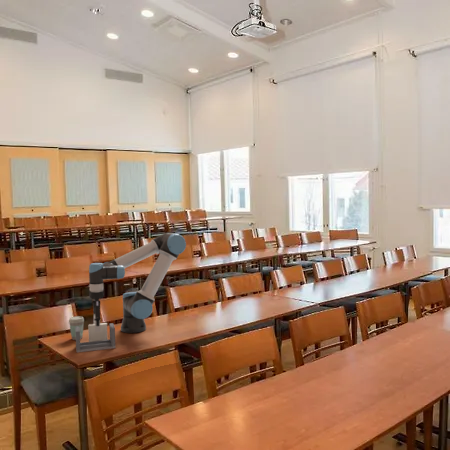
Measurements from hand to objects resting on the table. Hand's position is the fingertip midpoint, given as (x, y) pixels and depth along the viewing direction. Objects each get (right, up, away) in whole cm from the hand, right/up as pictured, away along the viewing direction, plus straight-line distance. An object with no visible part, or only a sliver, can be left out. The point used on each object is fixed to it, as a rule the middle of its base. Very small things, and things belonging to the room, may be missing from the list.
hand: (96, 328), depth 270 cm
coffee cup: (-13, -8, +8) cm, 17 cm away
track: (+2, -8, -9) cm, 13 cm away
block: (+1, -8, +1) cm, 8 cm away
